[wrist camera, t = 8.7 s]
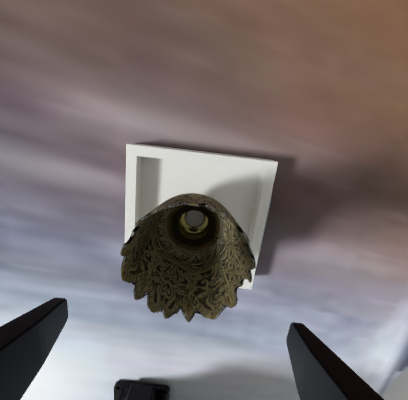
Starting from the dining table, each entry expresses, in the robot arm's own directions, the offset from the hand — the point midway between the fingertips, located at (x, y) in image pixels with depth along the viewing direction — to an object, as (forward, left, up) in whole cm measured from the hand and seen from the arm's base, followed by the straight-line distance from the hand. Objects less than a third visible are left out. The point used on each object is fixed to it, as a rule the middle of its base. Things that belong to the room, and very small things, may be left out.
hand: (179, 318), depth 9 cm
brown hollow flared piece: (0, 0, -12) cm, 12 cm away
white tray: (0, 0, -12) cm, 12 cm away
